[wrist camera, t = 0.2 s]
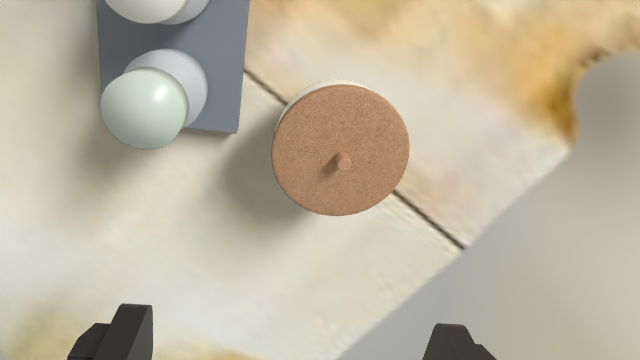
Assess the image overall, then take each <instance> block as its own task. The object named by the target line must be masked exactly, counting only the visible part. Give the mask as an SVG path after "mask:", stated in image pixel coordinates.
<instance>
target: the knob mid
mask: <svg viewBox="0 0 640 360" xmlns="http://www.w3.org/2000/svg"><path fill="white" fill-rule="evenodd" d="M105 1H106V3H107V4H108V5H109V6H110V7H111V8H112V9H113V10H114V11H116V12H117V13H118V14H120V15H121V16H123V17H125V18H127V19H129V20H131V21H134V22H138V23H146V24H148V23H157V22H160V21H163V20H166V19H169V18H172V17H174V16H176V15H178V14H179V13H180V12H182V11H183V10H184V9H185V7H186V6H187V5H188V3H189V1H190V0H105Z"/></svg>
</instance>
